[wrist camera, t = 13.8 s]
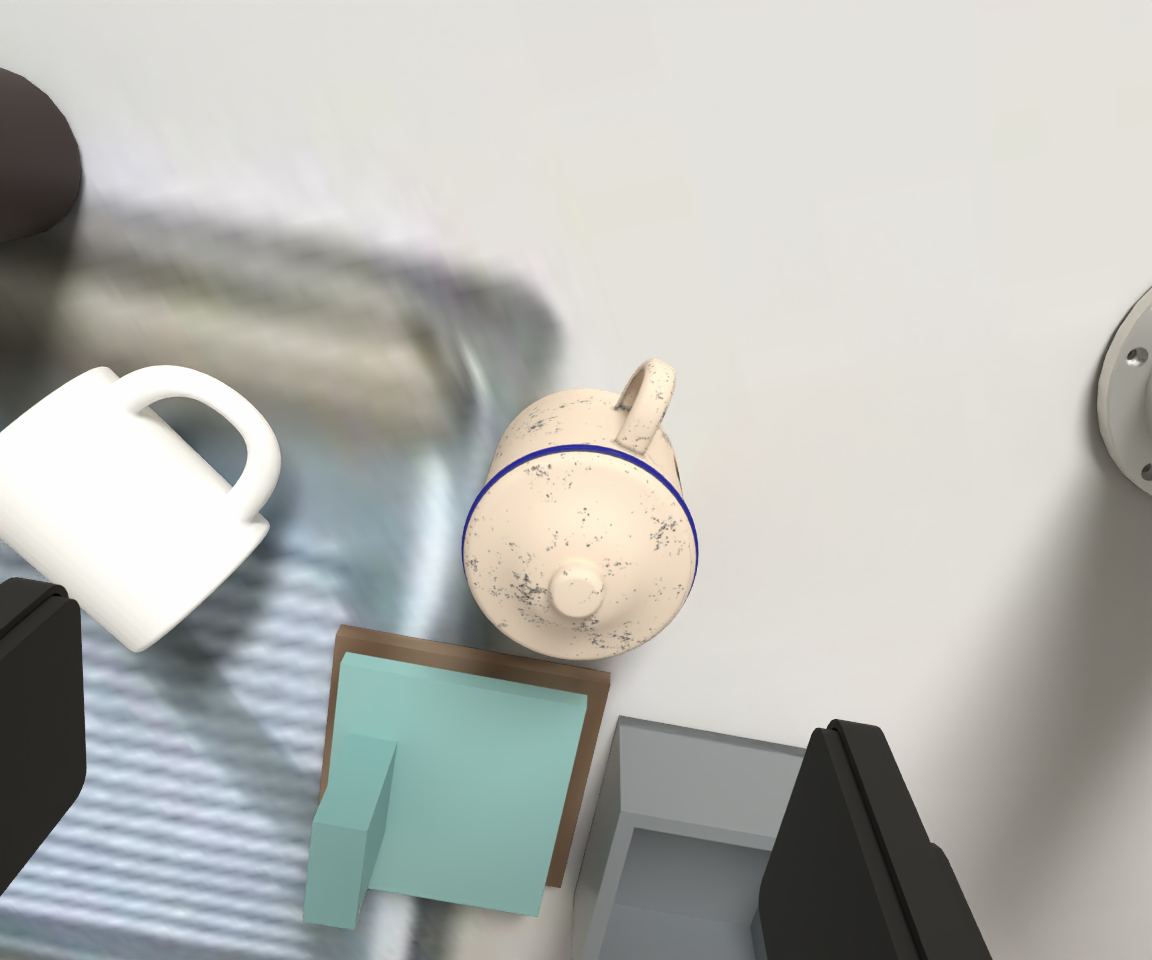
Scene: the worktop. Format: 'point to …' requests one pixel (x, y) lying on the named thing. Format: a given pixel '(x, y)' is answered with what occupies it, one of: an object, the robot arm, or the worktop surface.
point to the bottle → (33, 160)
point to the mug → (132, 497)
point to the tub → (681, 845)
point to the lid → (440, 789)
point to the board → (498, 668)
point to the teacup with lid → (584, 523)
